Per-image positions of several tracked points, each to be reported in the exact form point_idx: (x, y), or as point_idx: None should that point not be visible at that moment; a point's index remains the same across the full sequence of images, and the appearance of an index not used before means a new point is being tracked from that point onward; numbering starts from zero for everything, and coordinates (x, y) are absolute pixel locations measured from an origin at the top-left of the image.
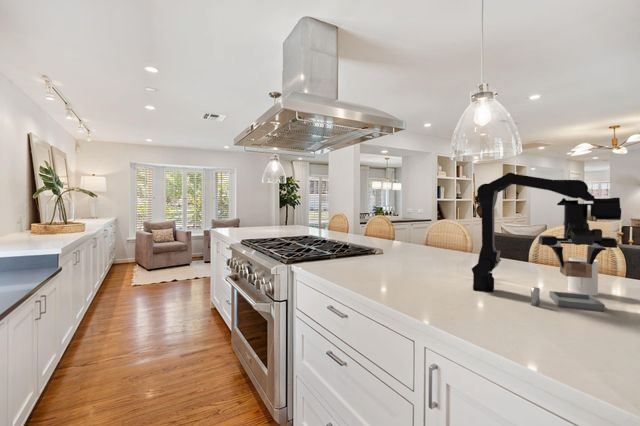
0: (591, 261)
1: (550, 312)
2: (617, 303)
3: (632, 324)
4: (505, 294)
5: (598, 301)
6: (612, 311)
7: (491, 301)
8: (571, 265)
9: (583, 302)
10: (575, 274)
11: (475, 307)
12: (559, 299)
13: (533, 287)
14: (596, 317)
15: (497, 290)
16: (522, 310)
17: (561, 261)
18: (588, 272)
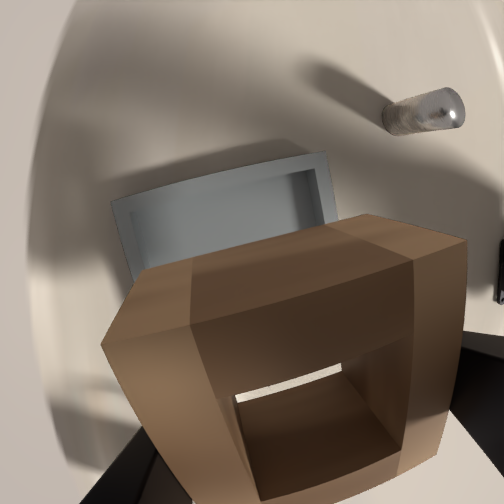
0: (123, 479)
1: (338, 41)
2: (86, 384)
3: (56, 65)
4: (474, 238)
5: (135, 261)
6: (91, 227)
7: (493, 108)
8: (398, 251)
9: (208, 180)
10: (297, 240)
11: (494, 31)
12: (322, 171)
13: (459, 120)
14: (166, 65)
15: (487, 282)
16: (416, 32)
17: (483, 342)
18: (165, 282)
